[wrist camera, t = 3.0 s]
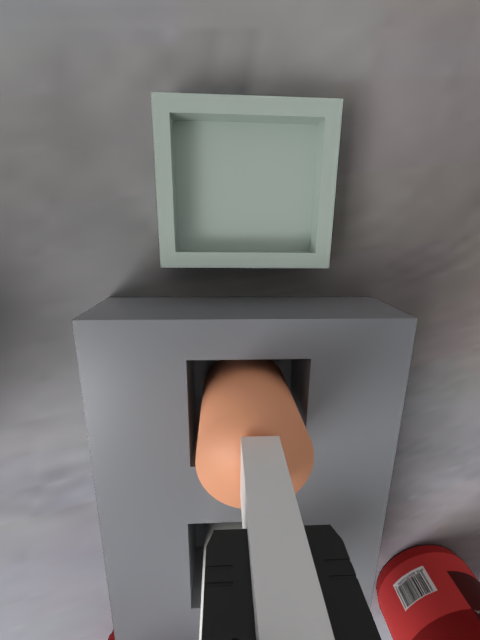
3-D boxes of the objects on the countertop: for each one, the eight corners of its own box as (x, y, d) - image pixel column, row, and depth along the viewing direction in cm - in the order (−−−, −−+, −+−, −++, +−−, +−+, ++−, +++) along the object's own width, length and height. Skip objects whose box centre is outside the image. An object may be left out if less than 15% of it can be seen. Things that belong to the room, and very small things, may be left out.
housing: (136, 574, 25) (117, 655, 21) (108, 297, 19) (71, 320, 15) (338, 564, 26) (364, 639, 21) (371, 296, 20) (417, 318, 15)
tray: (166, 263, 19) (160, 267, 17) (158, 107, 17) (150, 92, 15) (318, 264, 20) (329, 268, 18) (329, 112, 17) (343, 98, 15)
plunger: (203, 427, 19) (196, 511, 14) (202, 352, 18) (193, 410, 12) (283, 425, 20) (309, 507, 14) (287, 351, 18) (318, 407, 13)
